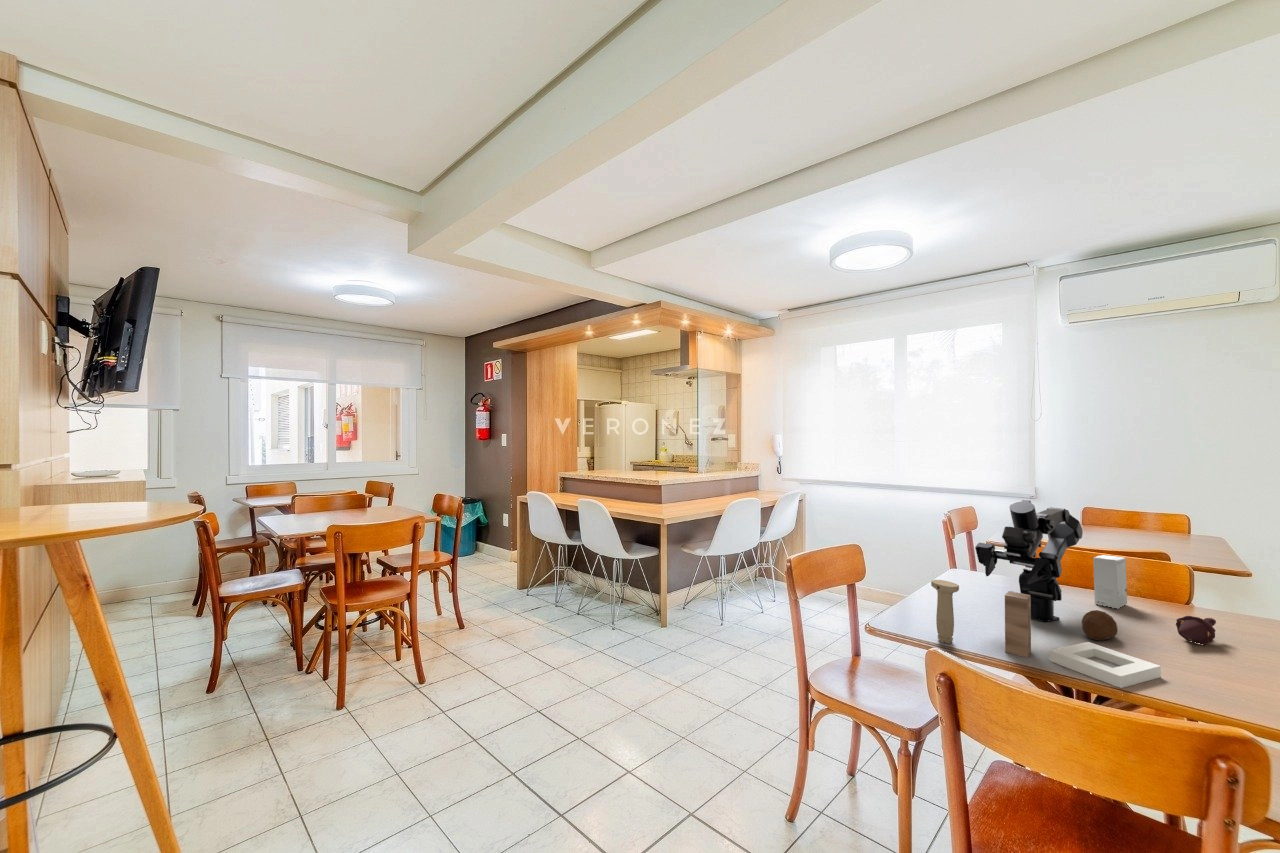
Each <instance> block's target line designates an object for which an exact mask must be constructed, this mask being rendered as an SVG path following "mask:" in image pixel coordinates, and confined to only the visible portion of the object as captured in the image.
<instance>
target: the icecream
mask: <svg viewBox="0 0 1280 853" xmlns="http://www.w3.org/2000/svg"><path fill="white" fill-rule="evenodd" d="M1216 624H1217V621H1216V619H1214V618H1212V617H1206V618H1201V617H1198V616H1194V615H1193V616H1192V615H1185V616H1182V617H1179V618H1176V622H1175V627H1176V629H1177V633H1178V635H1179V636H1180V637H1182V638H1183V639H1184V640H1186V641H1187V640H1188V641H1192V642H1196V643H1200V644H1203V645H1202V646H1204V645H1207V644H1209V643H1212V642H1213V641H1214V639H1215V638H1216V629H1215V627H1214V626H1215V625H1216ZM1188 641H1187V642H1188Z"/></svg>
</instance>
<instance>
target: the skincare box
mask: <svg viewBox="0 0 1280 853" xmlns="http://www.w3.org/2000/svg"><path fill="white" fill-rule="evenodd" d="M1126 563H1127V562H1126V557H1123V556H1122V557H1121V556H1114V555H1107V554H1101V555H1097V556H1094V557H1093V584H1094V585H1093V587H1094V588H1093V589H1094V595H1093V596H1094V604H1095V605H1096V604H1098V606H1102V605H1103V607H1106V606H1108V607H1107V608H1109V607H1112V608H1111V609H1114V608H1117V609H1116V610H1119V609H1120V607H1121V608H1123V607H1125V606H1127V605H1128V595H1127V594H1128V590H1127V588H1128V587H1127V584H1128V583H1127V569H1126V568H1127V564H1126ZM1126 604H1127V605H1126ZM1124 605H1125V606H1124ZM1122 606H1123V607H1122Z"/></svg>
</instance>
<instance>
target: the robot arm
mask: <svg viewBox="0 0 1280 853" xmlns="http://www.w3.org/2000/svg"><path fill="white" fill-rule="evenodd" d="M1008 508H1009V512H1010V516H1011V521H1012V524H1013V526H1004V528H1003V532H1002V535H1001V536H1002V537H1001V538H1002V540H1003V541H1004V544H1003V548H1004V549H1005V550H1002V549H1001V550H999V549H996V547H995V546H996V545H995V544H991V543H986V542H985V543H984V542H978V543H977V544H976V546H975V549H974V550H975V552H976V556H977V559H978V560H977V561H978V563H979V564H981V565H983V566H984V569H985V570H984V571H985V576H986V577H989V576H990V575H991V574H992V573H993V571H994V570H995V569H996V564H998V560H1004V561H1008V562H1009V564H1013V565H1018V566H1024V567H1023V568H1022V572H1021V573H1020V574H1019V576H1018V583H1019V584H1018V585H1019V589H1020V590H1019V591H1020V592H1019V593H1022V594H1028V595H1031V619H1034V620H1037V621H1039V622H1043V623H1048V622H1053V621H1058V620H1060V617H1059V616H1056V615H1054V614H1055V612H1054V610H1055V608H1054V606H1055V605H1054V602H1056V601H1062V596H1063V595H1062V590H1061V589H1062V588H1061V586H1060V585H1059V582H1058V580H1057V579H1058V578H1060V577H1061V575H1062V573H1063V572H1062V570H1063V569H1062V564H1061V563H1062V562H1061V561H1062V559H1063V557H1064V555H1065V553H1066V551H1067V549H1068V548H1071V547H1073V546H1075V545H1077V544H1078V543H1079V541H1080V540H1081V539H1082V538H1083V527H1082V525H1081V522H1080V521H1079V519H1077V518H1076V517H1074V516H1073V515H1072V514H1070V511H1069V509H1066V508H1060V507H1059V508H1058V507H1052V506H1051V507H1047V509H1045V510H1041V511H1040V512H1037V511H1036V506H1035V504H1034V503H1032V501H1031V500H1030V499H1021V501H1018V502H1013V503H1011V504H1010V505H1009V507H1008ZM1044 535H1047V537H1048V540H1047V542H1046V544H1045V546H1044V548H1043V549H1042V551H1039V553H1038V556H1039V557H1037V549H1038V548H1041V547H1042V540H1043V538H1044Z"/></svg>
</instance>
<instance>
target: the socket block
mask: <svg viewBox="0 0 1280 853" xmlns="http://www.w3.org/2000/svg"><path fill="white" fill-rule="evenodd" d="M1049 662H1052V663H1055V664H1056V665H1060V666H1062V667H1065V668H1067V669H1069V670H1073V671H1075V672H1078V673H1081V674H1083V675H1086V676H1088V677H1091V678H1093V679H1096V680H1099V681H1102V682H1103V683H1104V682H1105V683H1107V684H1109V685H1112V686H1114V687H1117V688H1119V689H1123V688H1127V687H1131V686H1134V685H1138V684H1140V683H1141V684H1142V683H1144V682H1148V681H1152V680H1157V679H1159V678H1162V677H1161V676H1162V675H1161V673H1162V672H1161V671H1162V670H1161V669H1162V668H1161V667H1162V666H1161V665H1159V664H1155V663H1153V662H1150V661H1148V660H1147V661H1146V660H1144V659H1141V658H1138V657H1135V656H1132V655H1129V654H1125V653H1123V652H1120V651H1117V650H1114V649H1112V648H1111V649H1110V648H1107V647H1104V646H1101V645H1099V644H1096V643H1093V642H1089V641H1086V642H1085V641H1084V642H1081V643H1077V644H1072V645H1071V644H1070V645H1067V646H1063V647H1059V648H1054V649H1050V650H1049Z"/></svg>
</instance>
